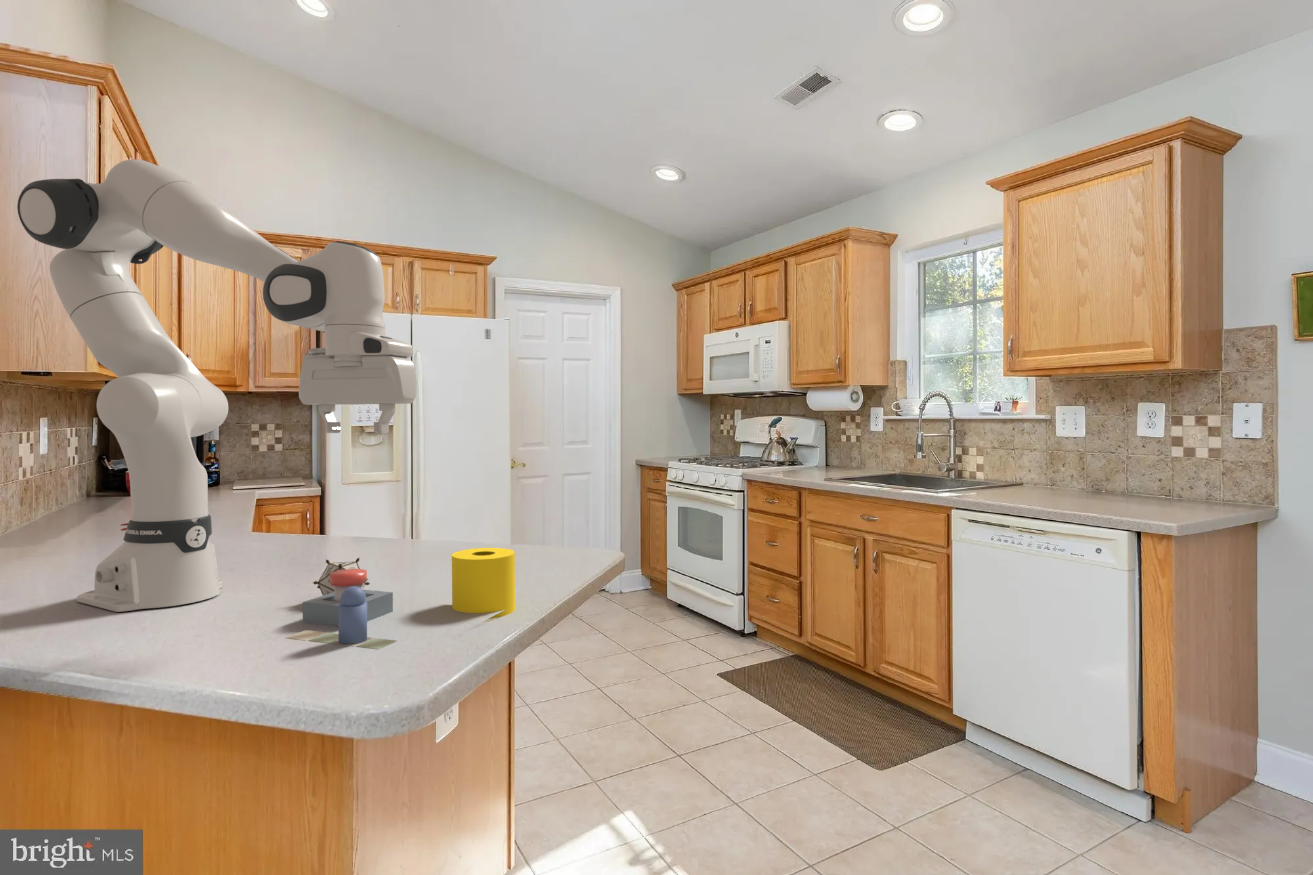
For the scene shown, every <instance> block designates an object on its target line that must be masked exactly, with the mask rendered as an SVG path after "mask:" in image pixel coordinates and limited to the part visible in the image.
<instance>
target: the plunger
mask: <svg viewBox="0 0 1313 875" xmlns="http://www.w3.org/2000/svg"><path fill="white" fill-rule="evenodd" d="M367 573H368V572H367V569H364V568H360V569H345V570H339V571H334V572H332V573H330V585H333V586H334V597H335V601H337V602H341V601H340V598H341V594H342V593H343V591H344V590H345V589H347V588H349V587H352V586H356V587H360V588H361V589H362V590H364V588H363V583H366V582H368V580H367V579H368V578H367V577H368V576H367Z"/></svg>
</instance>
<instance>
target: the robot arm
mask: <svg viewBox="0 0 1313 875" xmlns="http://www.w3.org/2000/svg"><path fill="white" fill-rule="evenodd" d="M16 208H17V209H16V210H17V214H18V218H19V221H20V224H21V225H22V228H24V231H26V233H27V234H28V235H29V237H31V238H33V239H34V240H35V241H37V242H38V243H42V244H44V245H47V246H49V247H54V248H58V249H62V250H61V251H59V252H58V253H57V254H55V256H54V257H53V258H51V259H52V260H51V262H50V264H49V273H50V276H51V280H52V283H53V285H54V287H55V291H56V293H57V295H58V297H59V299H60V302H61V304H62V306H63V308H64V309H65V311H66V313H67V315H68V316H69V319H70V320H71V322H72V323H73V325H74V327H75V328H76V330H77V331H78V333H79V335H80V336H81V338H82V340H83V341H84V343H85V345H86V346H87V348H88V349H89V351H90V353H91V354H92V356H93V357H94V359H95V360H96V361H97V363H99V364H100V365H102V366H103V367H105V368H106V369H108V370H110V371H111V372H112V373H113V374H114V375H115V376H117V378H114V379H112V380H110V381H108V382H107V383H106V384H105V385H104V386H103V387H102V388H101V390H100V391H99V393H98V395H97V399H96V412H97V415H98V417H99V419H100V421H101V422H102V424H103V426H105V427H106V428H107V429H108V430H110V431H111V433H112V434H113V435H114V436H115V438H116V441H117V442H118V444H119V447H120V449H121V452H122V455H123V457H124V460H125V463H126V467H127V471H128V475H129V476H128V477H129V485H130V487H129V488H130V511H131V512H130V513H131V514H130V515H131V519H130V520H129V521H128V522H127V523H120V526H126V527H124V528H121V529H120V531H121V532H122V531H125V533H124V536H123V541H124V542H123V543H122V544H120V545H119V546H118V547H117V548H116V549H114V551H113V552H111V553H110V554H109V555H108V556H106V557H105V558H104V559H103V560H102V561H100V563H98V565H97V566H96V568H95V573H94V589H92V590H90V591H89V590H88V591H87V592H84V593H81V594H79V595H77V596H76V602H77V603H80V604H84V605H85V604H86V605H88V606H93V607H96V608H100V609H104V610H108V611H112V612H117V613H119V612H120V613H121V612H129V611H136V610H144V609H157V608H169V607H175V606H181V605H187V604H191V603H193V604H194V603H196V602H202V601H204V600H209V599H211V598H214V597H216V596H218V595H219V594H221V592H222V590H221V588H223V586H224V584H223V580H219V574H218V573H219V572H218V565H217V557H216V550H215V545H214V543H212V541H211V539H210V536H211V535H212V532H213V531H212V530H213V522H212V516H211V514H209V491H208V490H209V486H208V484H209V483H208V482H209V480H208V478H209V477H208V473H207V469H206V468H205V466H203V464H202V463H201V462H200V461H199V459H198V457H197V454H196V452H195V448H194V446H193V441H192V438H196V437H199V436H202V435H205V434H208V433H210V432H212V431H214V430H216V429H217V428H219V427H220V426H222V424H223V423H224V422H225V421H226V419H227V417H228V414H229V402H228V399H227V396H226V395H225V393H224V392H223V391H222V390H221V389H220V388H219V387H217V386H216V385H215V384H213V383H212V382H211V381H209V379H208V378H206V377H205V376H204V375H203V374H202V373H201V371H200V370H199V369H198V368H197V367H196V366H195V365H194V363H193V362H192V361H191V360H190V359H189V357H188V356H186V355H185V353H184V352H183V351H182V350H181V349H180V348H179V347H178V346H177V345H176V344H175V342H174V341H173V340H172V339H171V338H170V336H169V335H168V334H167V331H166V330H165V329H164V327H163V325H162V324H161V322H160V321H159V319H158V317H157V315H155V313H154V311H153V310H152V308H151V307H150V304H149V303H148V301H147V299H146V298H145V297H144V295H143V293H142V292H141V290H140V289H139V287H138V285H137V284H136V282H135V281H134V279H133V277H132V275H131V272H130V264H135V265H143V264H145V263H147V262H148V261H149V260H150V258H151V257H152V255H154V254H156V253H157V252H159V251H160V250H161V249H163V247H165V248H167V249H168V250H172V251H173V252H175V253H177V254H178V255H179V254H180V255H182V256H184V257H187V258H189V259H192V260H196V261H199V262H202V263H206V264H209V265H213V266H217V267H221V268H225V269H228V270H233V271H236V272H239V273H242V274H246V275H248V276H250V277H253V278H255V279H258V280H259V281H261V282H262V283H263V286H262V299H263V302H264V303H263V304H264V305H265V307H266V309H267V311H268V313H269V314H270V315H271V316H272V317H273V318H275V319H276V320H279V321H281V322H283V323H286V324H289V325H292V326H296V327H297V326H298V327H301V328H306V329H311V330H315V331H318V332H319V331H320V332H321V333H324V343H325V344H324V346H325V347H321V348H320V347H319V348H318V347H313V348H309V350H308V351H307V352H306V353H305V354H304V355H303V356H302V365H301V368H300V374H299V383H298V384H299V385H298V398H299V401H300V402H301V403H302V404H303V405H307V406H313V405H317V406H318V413H319V414H320V416H321V418H322V420H323V421H324V424H325V425H324V427H325V428H324V429H325V433H326V434H340V433H341V430H342V428H341V421H337V420H336V417H335V415H334V413H333V412H336V405H378V411H379V412H381V413H380V416H379V418H378V421H373V427H374V428H373V433H375V434H388V433H389V432H390V422H391V420H392V418H393V416H394V415H395V412H396V405H400V404H401V405H403V404H404V405H407V404H409V405H411V404H413V402H414V400H415V399H416V398H417V376H416V368H415V365H414V362H413V361H412V360H411V359H410V358H411V357H413V355H414V348H413V347H414V346H413V345H412V344H410V343H407V342H404V341H401V340H399V339H395V338H393V337H389V336H386V324H385V322H384V318H383V310H384V307H385V302H386V299H385V298H386V295H385V294H386V293H385V289H386V288H385V279H384V278H385V277H384V269H383V268H384V267H383V265H382V261H381V258H380V256H379V255H378V254H377V253H376V252H375V251H374V250H371V249H370V248H368V247H365V246H363V245H360V244H359V245H358V244H356V243H354V242H353V243H352V242H349V241H332V242H329V243H328V244H326V246H325V247H324V248H323V249H322V250H321V251H319V252H318V253H315V254H314V255H312V256H309V257H307V258H305V259H302V260H298V259H296V258H295V257H293V256H292V255H290V254H289V253H287V252H285V251H284V250H282V249H280V248H278V247H277V246H276V245H274V244H272V243H271V242H269V241H268V240H266V238H264V237H263V236H261V235H260V234H259V233H258V232H256V230H254V229H252V228H251V227H250V226H249V225H248V224H246V223H245V222H244V221H242V220H241V219H240V218H239V217H238V216H236V215H235V214H234V213H232V212H231V211H230V210H229V209H227V208H226V207H225V206H224V205H223V204H222V203H220V202H219V200H218V201H217V200H216V198H214V197H212V196H211V195H210V194H208V193H207V192H206V191H204V190H203V189H201V188H200V187H198V186H197V185H195V184H193V183H192V182H190V181H189V180H187V179H185V178H183V177H182V176H180V175H178V174H177V173H174V172H173V171H171V170H169V169H167V168H164V167H162V166H159V165H157V164H154V163H152V162H149V161H147V160H143V159H134V158H131V159H126V160H122V161H120V162H119V163H117V164H115V165H114V166H113V167H112V168H110V170H109V171H108V173H107V175H106V178H104V180H103V182H101V183H91V182H87V181H86V182H85V181H84V180H83V179H81V178H49V179H39V180H36V181H32V182H29V183H28V184H27V185H26V186H24V188H23V189H22V190H21V192H20V195H19V196H18V199H17V207H16Z"/></svg>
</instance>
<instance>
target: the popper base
mask: <svg viewBox="0 0 1313 875" xmlns="http://www.w3.org/2000/svg"><path fill="white" fill-rule="evenodd" d="M363 591H364V592H365V595H366V600H365V602H367V623H368V622H370V621H372V620H375V619H377V618H380V617H382V616H385V615H388V614H390V613H393V612H394V601H393V600H394V595H393V594H394V592H392V591H382V590H371V589H363ZM339 604H341V602H337V601H335V597H334V592H332V593H329V594H326V595H320V596H316V597H314V598H310V599H308V600H304V601H302V623H305V624H316V625H325V626H335V627H339Z"/></svg>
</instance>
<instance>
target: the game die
mask: <svg viewBox="0 0 1313 875" xmlns="http://www.w3.org/2000/svg"><path fill="white" fill-rule="evenodd" d="M359 561H360V557H358V558H356V559H355V561H344V562H343V561H341V562H340V561H339V562H330V560H329V559H326V560H325V563H326V564H327V565H326V567H325V569H324V570H323V572H322V574H321V576H320V578H319V579H318V581H316V580H315V581H313V582H312V584H314V585H317V587H316V588H317V589H319V590H320V593H321V596H323V595H326V594H329V593H332V592H334V586H333V585H330V573H332V572H334V571H339V570H345V569H361V568H360V566H359V564H358V562H359ZM368 580H369V578H367V581H366V582H365V583H363V589H364V587H365V586H369V585H371V583H370V582H369V581H368Z"/></svg>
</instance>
